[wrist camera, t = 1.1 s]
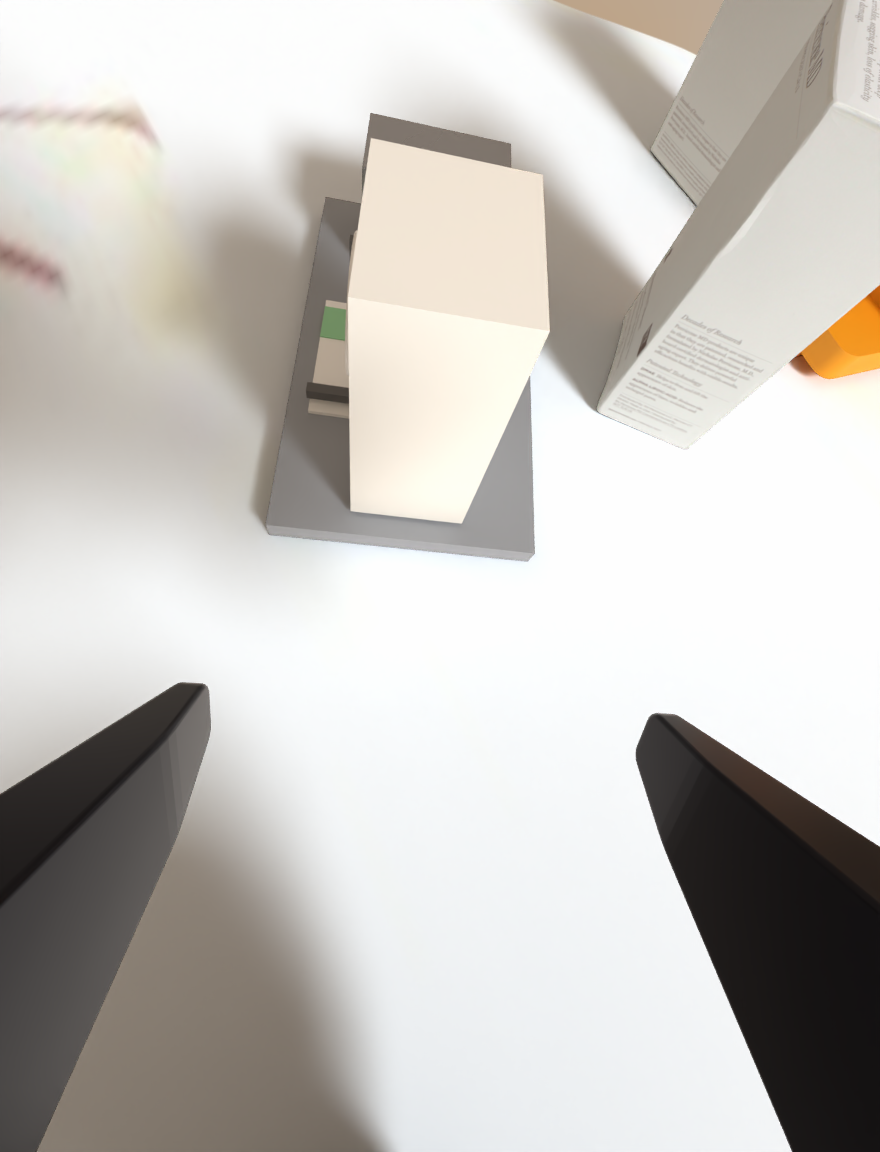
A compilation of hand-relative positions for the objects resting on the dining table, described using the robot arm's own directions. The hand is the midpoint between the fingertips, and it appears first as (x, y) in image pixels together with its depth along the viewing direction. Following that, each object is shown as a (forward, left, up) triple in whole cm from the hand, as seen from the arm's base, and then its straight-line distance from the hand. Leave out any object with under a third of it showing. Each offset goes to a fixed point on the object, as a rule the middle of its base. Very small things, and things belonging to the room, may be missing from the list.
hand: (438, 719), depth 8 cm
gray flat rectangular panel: (+19, 0, -13) cm, 23 cm away
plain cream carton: (+14, +1, -12) cm, 18 cm away
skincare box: (+21, -14, -13) cm, 28 cm away
